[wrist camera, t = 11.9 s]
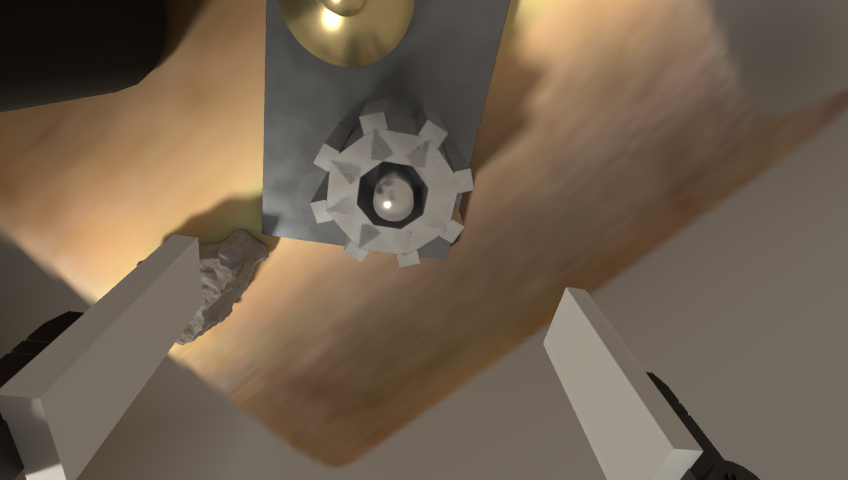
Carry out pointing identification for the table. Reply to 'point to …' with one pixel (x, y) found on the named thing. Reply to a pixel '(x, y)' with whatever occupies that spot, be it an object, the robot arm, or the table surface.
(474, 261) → the table surface
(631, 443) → the robot arm
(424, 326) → the table surface
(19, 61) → the coffee jar
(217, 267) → the stone
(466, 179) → the planet gear
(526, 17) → the table surface
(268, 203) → the carrier
